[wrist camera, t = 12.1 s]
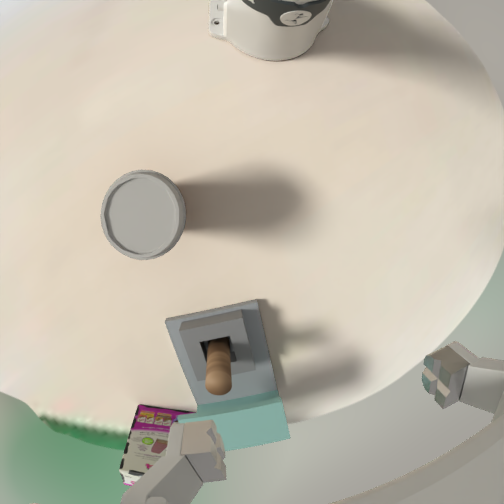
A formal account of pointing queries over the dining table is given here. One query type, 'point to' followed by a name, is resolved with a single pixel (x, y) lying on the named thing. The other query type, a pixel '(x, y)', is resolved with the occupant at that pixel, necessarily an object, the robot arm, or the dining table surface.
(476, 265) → the dining table surface
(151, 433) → the candy bar box
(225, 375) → the walnut dowel
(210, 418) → the socket station
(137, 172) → the disposable coffee cup
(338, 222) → the dining table surface
